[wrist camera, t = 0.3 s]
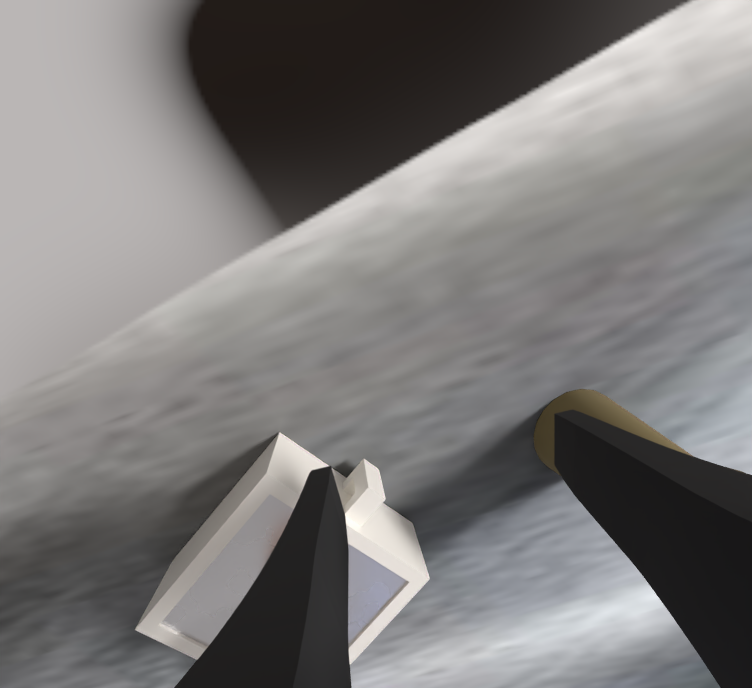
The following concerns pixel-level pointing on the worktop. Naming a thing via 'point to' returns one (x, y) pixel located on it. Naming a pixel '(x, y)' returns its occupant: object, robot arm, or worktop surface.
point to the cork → (596, 408)
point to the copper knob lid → (244, 563)
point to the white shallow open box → (285, 482)
